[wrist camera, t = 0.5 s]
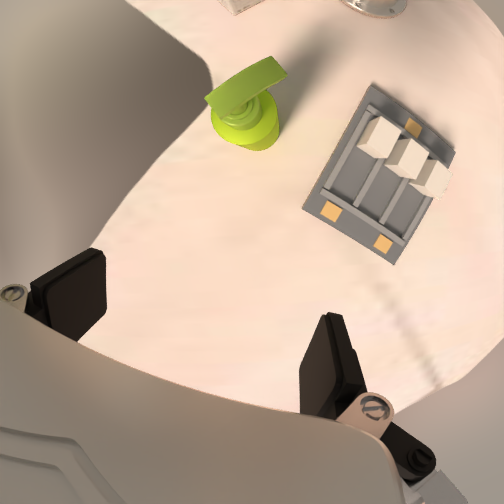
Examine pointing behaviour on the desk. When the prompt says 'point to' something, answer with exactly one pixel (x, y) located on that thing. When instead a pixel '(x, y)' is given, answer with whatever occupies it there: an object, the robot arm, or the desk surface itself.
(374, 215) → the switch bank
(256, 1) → the skincare box
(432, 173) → the tab
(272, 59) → the soap dispenser
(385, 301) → the desk surface
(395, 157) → the tab
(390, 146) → the tab
